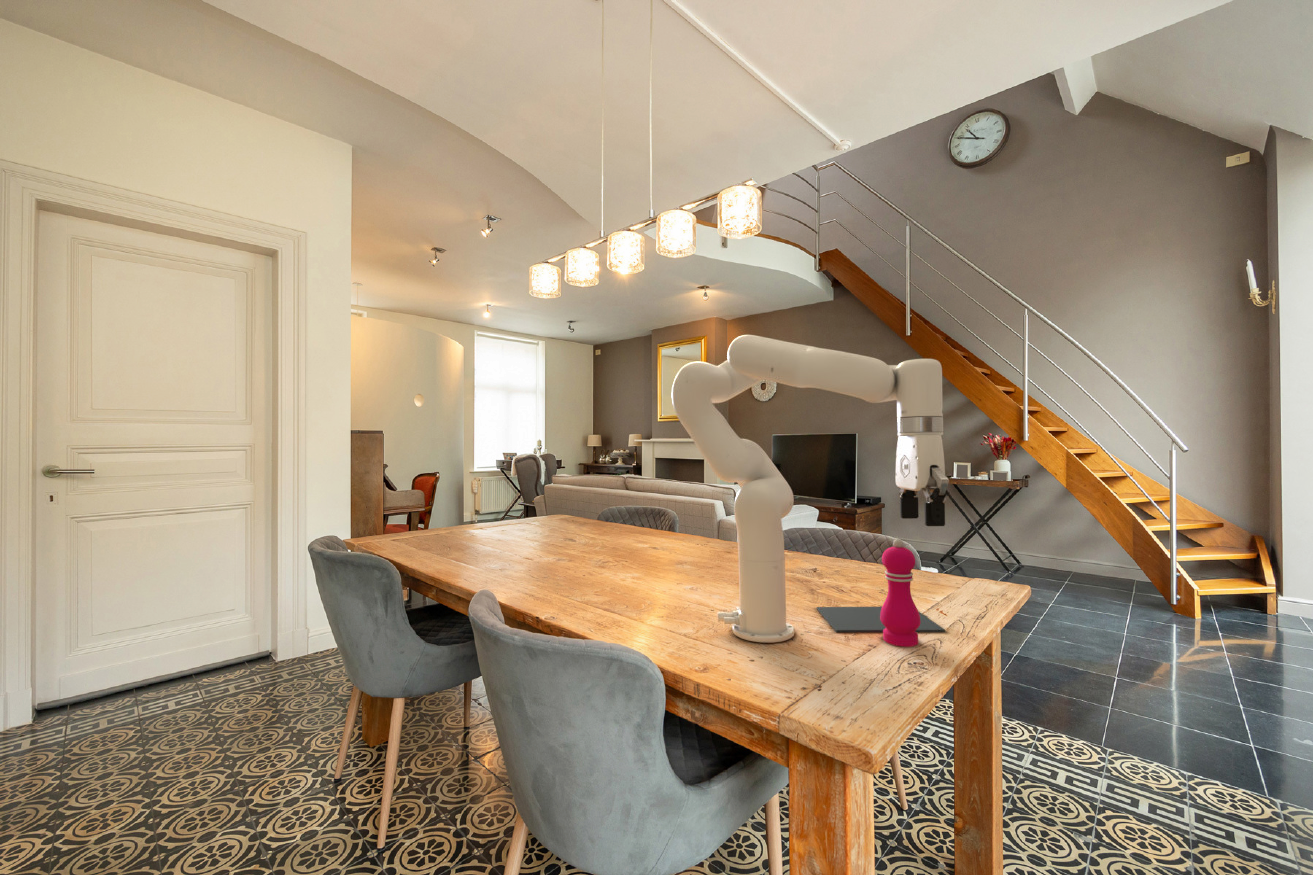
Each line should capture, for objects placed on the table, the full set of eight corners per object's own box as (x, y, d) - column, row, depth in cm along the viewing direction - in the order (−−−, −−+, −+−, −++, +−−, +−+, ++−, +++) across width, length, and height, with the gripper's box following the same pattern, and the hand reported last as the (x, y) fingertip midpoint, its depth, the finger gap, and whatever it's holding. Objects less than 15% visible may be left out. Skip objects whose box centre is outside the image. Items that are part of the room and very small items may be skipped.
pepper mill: (880, 645, 103) (878, 541, 103) (880, 632, 110) (877, 535, 110) (922, 650, 100) (919, 543, 101) (919, 637, 107) (916, 536, 107)
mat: (836, 632, 110) (836, 630, 110) (816, 608, 126) (816, 606, 126) (945, 632, 109) (945, 629, 109) (911, 608, 125) (911, 606, 125)
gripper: (880, 429, 106) (881, 515, 106) (921, 426, 89) (923, 529, 89) (918, 429, 106) (920, 515, 106) (967, 425, 89) (969, 529, 89)
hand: (921, 521), depth 97 cm, fingers open, 9 cm apart
